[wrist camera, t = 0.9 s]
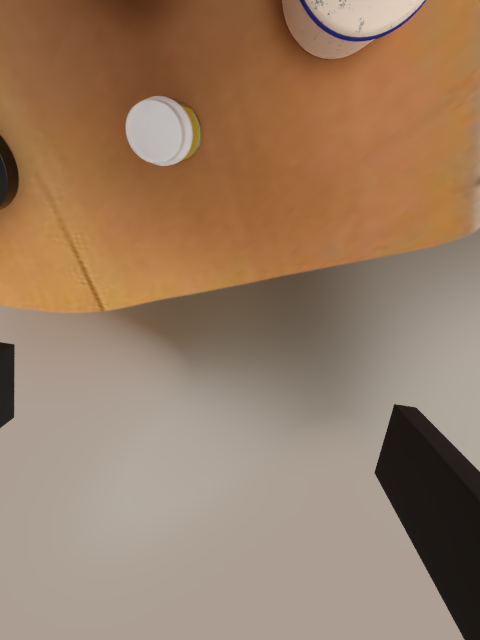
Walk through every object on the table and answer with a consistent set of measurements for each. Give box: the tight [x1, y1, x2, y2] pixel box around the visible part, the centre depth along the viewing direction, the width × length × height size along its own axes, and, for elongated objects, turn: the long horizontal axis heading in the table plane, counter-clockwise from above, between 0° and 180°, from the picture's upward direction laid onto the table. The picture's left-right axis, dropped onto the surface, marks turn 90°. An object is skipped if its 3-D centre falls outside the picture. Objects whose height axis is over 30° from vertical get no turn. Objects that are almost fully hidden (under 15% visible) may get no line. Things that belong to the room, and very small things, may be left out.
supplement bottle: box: [125, 96, 202, 166], centre depth 28 cm, size 5×5×8 cm
